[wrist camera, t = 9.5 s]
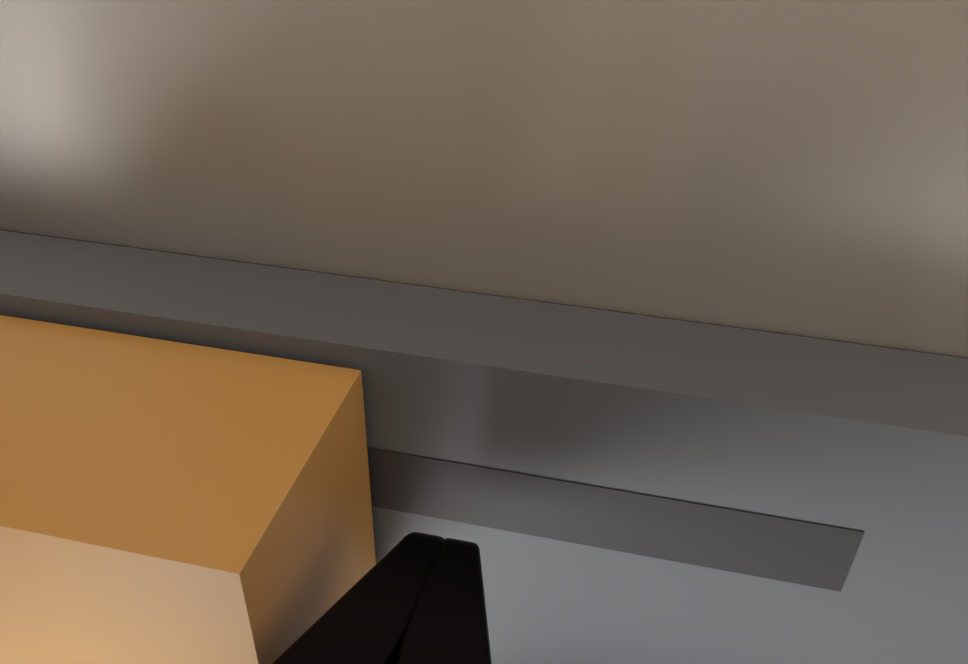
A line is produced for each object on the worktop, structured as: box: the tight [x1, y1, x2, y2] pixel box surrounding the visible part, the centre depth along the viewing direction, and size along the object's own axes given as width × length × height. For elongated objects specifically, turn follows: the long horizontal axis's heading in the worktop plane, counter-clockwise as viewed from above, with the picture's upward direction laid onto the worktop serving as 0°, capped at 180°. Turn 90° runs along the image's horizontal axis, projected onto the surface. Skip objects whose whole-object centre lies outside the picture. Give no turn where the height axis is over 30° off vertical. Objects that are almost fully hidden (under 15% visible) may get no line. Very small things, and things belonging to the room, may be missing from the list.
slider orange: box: [0, 315, 376, 664], centre depth 9 cm, size 5×4×3 cm
